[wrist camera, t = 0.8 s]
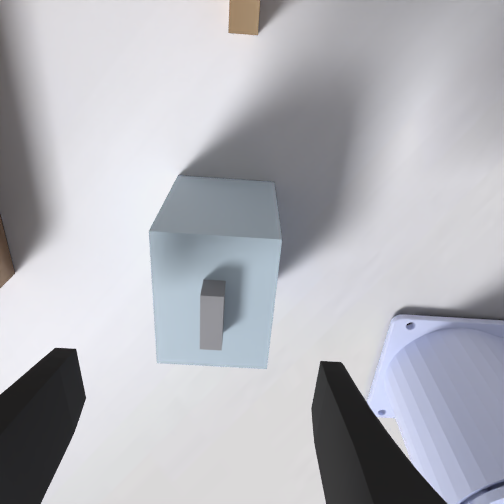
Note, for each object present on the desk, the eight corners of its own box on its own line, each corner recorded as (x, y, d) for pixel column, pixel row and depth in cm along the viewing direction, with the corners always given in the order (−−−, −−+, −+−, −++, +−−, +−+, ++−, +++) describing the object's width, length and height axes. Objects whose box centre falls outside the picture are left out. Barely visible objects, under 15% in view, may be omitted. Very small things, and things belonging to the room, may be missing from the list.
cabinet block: (274, 181, 19) (284, 254, 13) (263, 287, 22) (267, 387, 16) (178, 174, 19) (141, 244, 13) (180, 282, 22) (151, 381, 15)
